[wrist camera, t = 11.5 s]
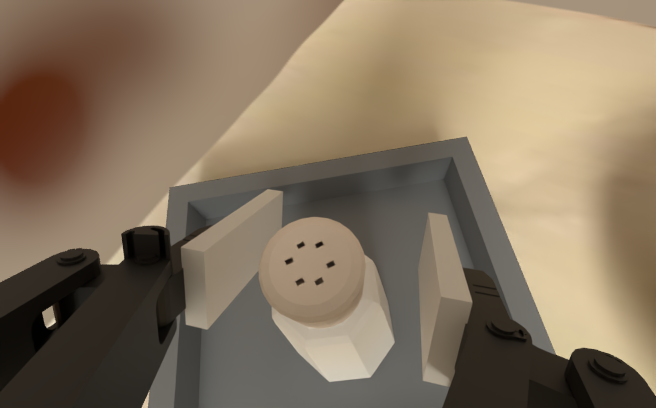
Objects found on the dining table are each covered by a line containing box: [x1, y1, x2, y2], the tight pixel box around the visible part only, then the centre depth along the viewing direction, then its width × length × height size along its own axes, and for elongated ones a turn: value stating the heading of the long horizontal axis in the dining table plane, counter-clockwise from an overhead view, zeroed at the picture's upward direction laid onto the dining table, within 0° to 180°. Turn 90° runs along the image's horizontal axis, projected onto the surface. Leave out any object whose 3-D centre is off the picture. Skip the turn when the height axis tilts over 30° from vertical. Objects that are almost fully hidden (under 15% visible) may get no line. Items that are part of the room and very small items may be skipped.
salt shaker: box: [259, 217, 395, 382], centre depth 13 cm, size 5×5×11 cm
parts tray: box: [148, 137, 556, 408], centre depth 18 cm, size 18×18×4 cm
